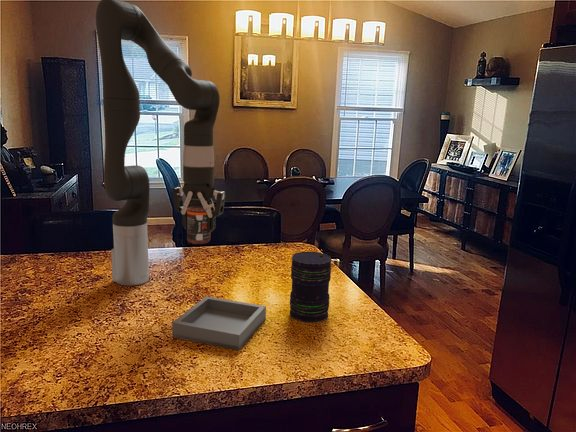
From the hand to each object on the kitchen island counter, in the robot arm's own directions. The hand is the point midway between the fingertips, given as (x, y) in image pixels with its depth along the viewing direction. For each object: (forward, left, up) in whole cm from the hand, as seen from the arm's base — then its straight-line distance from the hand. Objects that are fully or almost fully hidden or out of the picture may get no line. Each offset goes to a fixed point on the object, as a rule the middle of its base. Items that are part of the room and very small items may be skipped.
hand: (198, 229), depth 119 cm
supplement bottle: (0, 0, -3) cm, 3 cm away
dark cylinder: (+29, +3, -20) cm, 35 cm away
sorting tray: (+12, -12, -19) cm, 26 cm away
